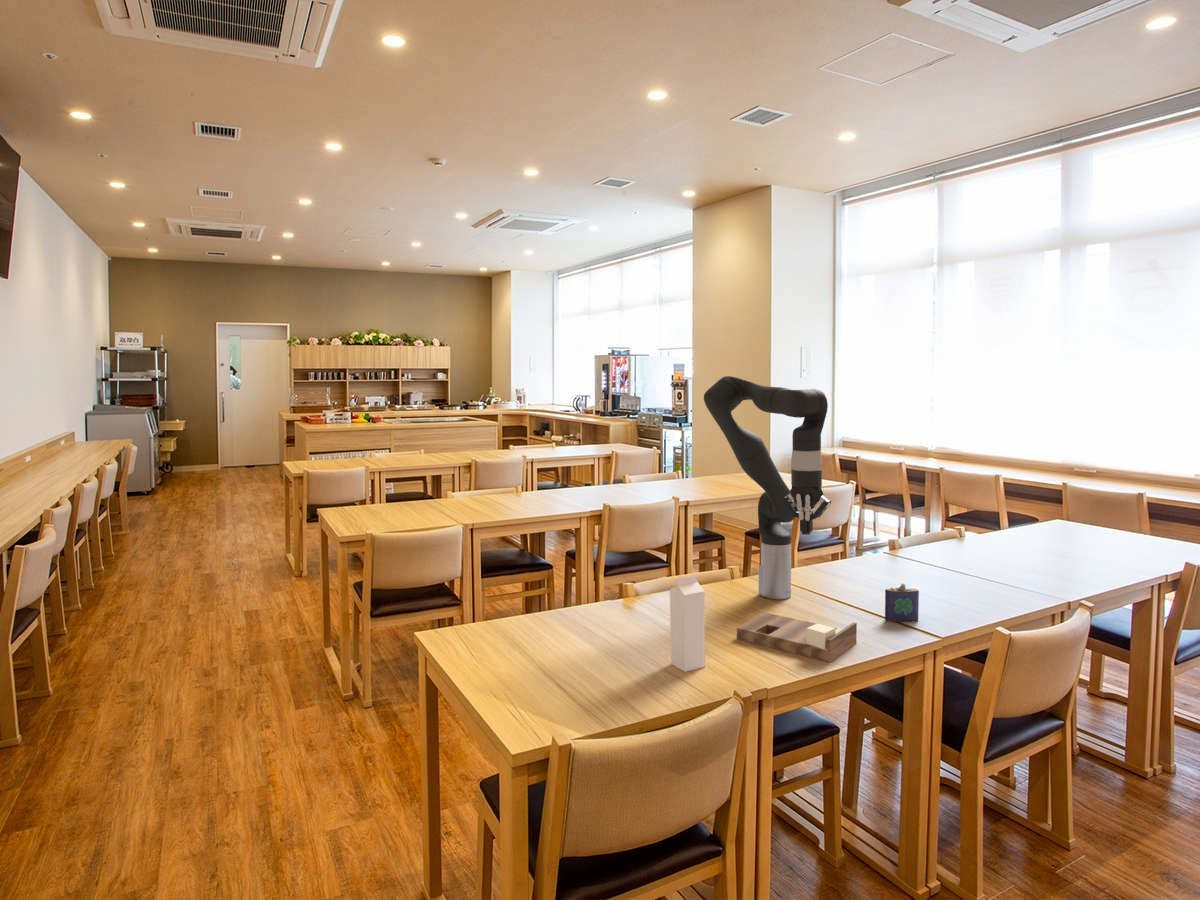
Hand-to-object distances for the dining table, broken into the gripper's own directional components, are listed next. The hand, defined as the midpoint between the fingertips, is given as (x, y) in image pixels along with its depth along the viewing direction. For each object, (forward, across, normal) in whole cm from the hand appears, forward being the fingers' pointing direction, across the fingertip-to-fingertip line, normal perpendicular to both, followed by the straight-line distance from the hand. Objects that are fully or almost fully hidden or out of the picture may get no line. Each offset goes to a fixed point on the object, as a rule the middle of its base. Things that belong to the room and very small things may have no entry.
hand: (806, 534), depth 189 cm
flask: (+29, +14, +32) cm, 45 cm away
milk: (+29, -15, -32) cm, 46 cm away
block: (+26, +7, -6) cm, 27 cm away
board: (+29, -2, -1) cm, 29 cm away
